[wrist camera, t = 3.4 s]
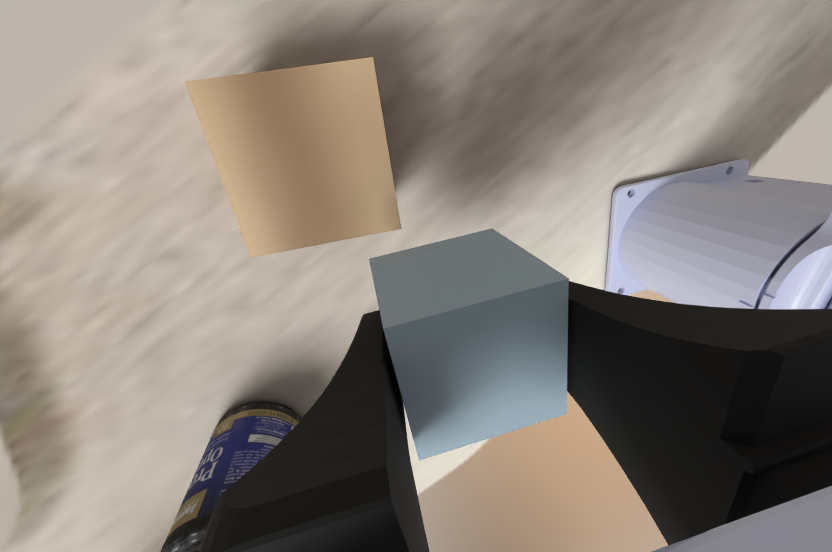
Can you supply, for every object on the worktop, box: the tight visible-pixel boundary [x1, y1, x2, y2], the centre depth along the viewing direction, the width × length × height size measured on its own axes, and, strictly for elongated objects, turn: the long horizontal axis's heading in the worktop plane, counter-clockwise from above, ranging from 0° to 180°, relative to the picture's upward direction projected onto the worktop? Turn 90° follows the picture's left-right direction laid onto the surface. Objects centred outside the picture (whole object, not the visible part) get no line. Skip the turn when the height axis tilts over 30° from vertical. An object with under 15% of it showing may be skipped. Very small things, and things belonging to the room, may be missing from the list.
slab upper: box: [185, 57, 401, 257], centre depth 13 cm, size 6×6×3 cm
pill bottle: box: [161, 402, 301, 552], centre depth 19 cm, size 6×6×11 cm
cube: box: [369, 229, 569, 460], centre depth 11 cm, size 4×4×4 cm
